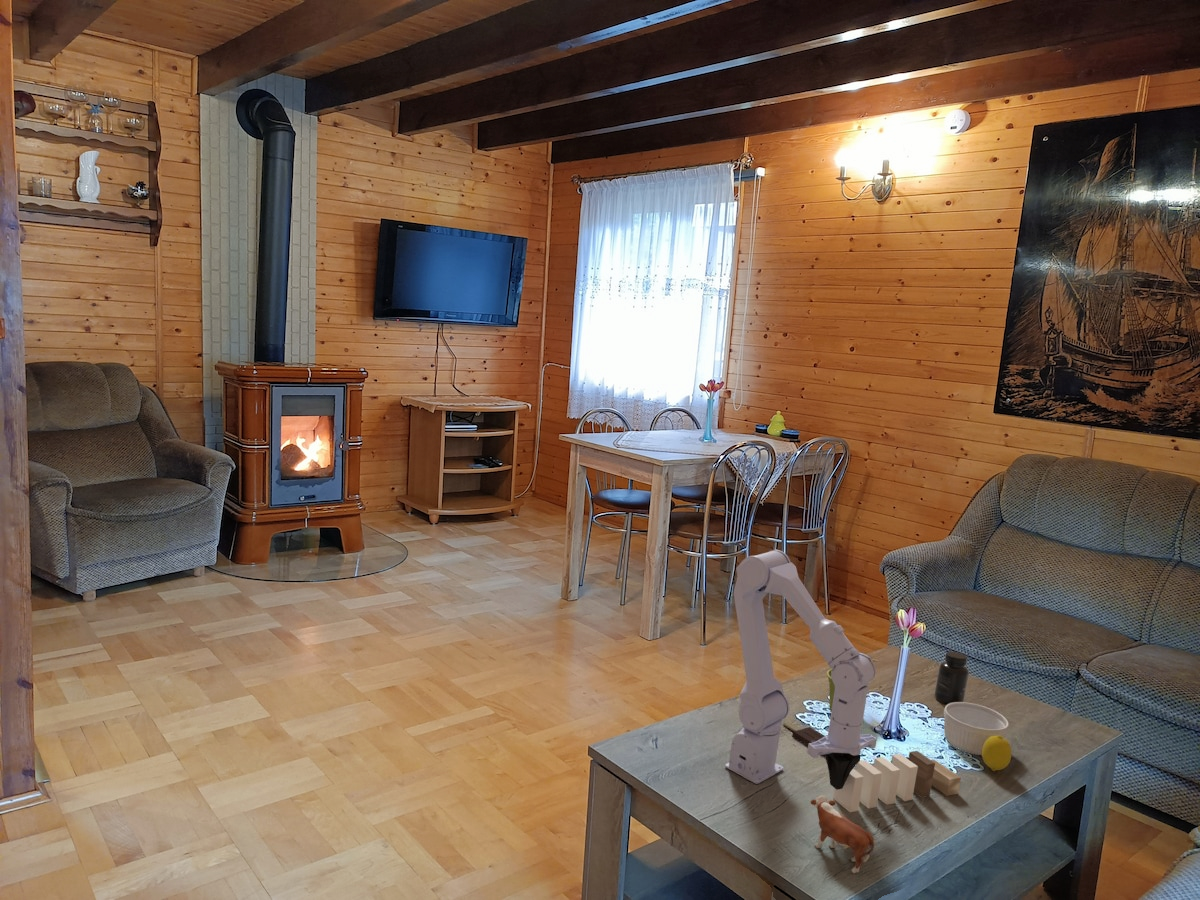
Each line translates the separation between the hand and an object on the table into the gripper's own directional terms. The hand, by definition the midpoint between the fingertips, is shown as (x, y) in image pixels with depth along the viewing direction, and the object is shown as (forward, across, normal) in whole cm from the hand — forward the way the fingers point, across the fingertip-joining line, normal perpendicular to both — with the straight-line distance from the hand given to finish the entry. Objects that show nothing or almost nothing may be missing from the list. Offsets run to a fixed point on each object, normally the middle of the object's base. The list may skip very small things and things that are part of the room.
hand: (836, 786), depth 162 cm
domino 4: (+4, +16, 0) cm, 17 cm away
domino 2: (+4, +8, 0) cm, 9 cm away
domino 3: (+4, +12, 0) cm, 13 cm away
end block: (+4, +27, 0) cm, 27 cm away
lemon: (+4, +44, +1) cm, 44 cm away
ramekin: (+5, +48, +12) cm, 50 cm away
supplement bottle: (+4, +61, +30) cm, 68 cm away
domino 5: (+4, +21, 0) cm, 21 cm away
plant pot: (+4, +29, +32) cm, 44 cm away
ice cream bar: (+5, +12, +23) cm, 26 cm away
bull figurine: (+4, -9, -12) cm, 15 cm away
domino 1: (+4, +3, 0) cm, 5 cm away
